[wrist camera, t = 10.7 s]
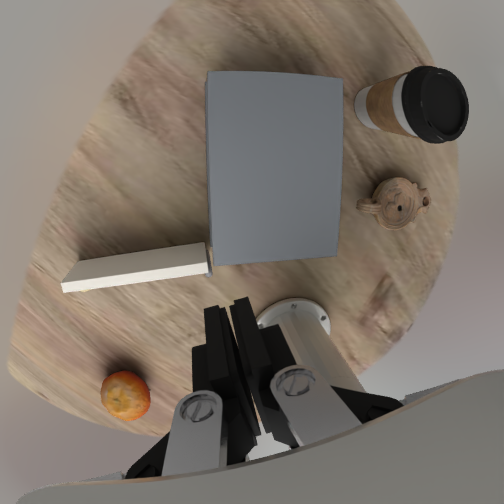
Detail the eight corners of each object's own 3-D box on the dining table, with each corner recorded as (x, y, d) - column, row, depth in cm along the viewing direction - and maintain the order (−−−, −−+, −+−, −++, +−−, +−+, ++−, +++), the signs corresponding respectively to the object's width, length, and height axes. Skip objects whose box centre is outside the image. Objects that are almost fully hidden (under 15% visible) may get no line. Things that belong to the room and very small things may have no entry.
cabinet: (315, 237, 43) (336, 256, 36) (210, 244, 40) (213, 266, 34) (318, 86, 35) (342, 78, 29) (205, 83, 33) (207, 71, 27)
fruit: (133, 415, 47) (111, 431, 39) (110, 375, 48) (85, 386, 40) (169, 399, 46) (151, 416, 39) (145, 357, 48) (122, 368, 40)
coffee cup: (333, 100, 36) (402, 88, 23) (374, 67, 35) (448, 49, 22) (369, 149, 40) (444, 162, 26) (406, 115, 39) (483, 118, 25)
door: (207, 241, 40) (210, 261, 34) (209, 257, 41) (213, 280, 34) (77, 261, 37) (60, 283, 31) (82, 276, 38) (66, 300, 32)
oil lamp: (421, 176, 42) (443, 182, 38) (416, 223, 45) (436, 233, 41) (348, 171, 40) (367, 177, 36) (344, 225, 43) (361, 236, 38)
